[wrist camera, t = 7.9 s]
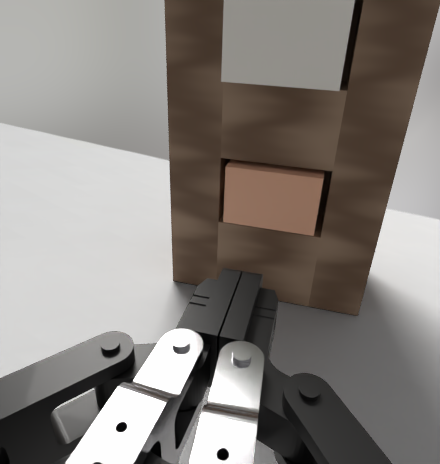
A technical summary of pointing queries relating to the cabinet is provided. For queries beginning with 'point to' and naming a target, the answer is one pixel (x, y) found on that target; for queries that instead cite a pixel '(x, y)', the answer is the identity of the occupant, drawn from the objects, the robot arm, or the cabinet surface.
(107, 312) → the cabinet surface
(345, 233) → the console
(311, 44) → the key middle
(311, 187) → the block
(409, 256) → the cabinet surface
